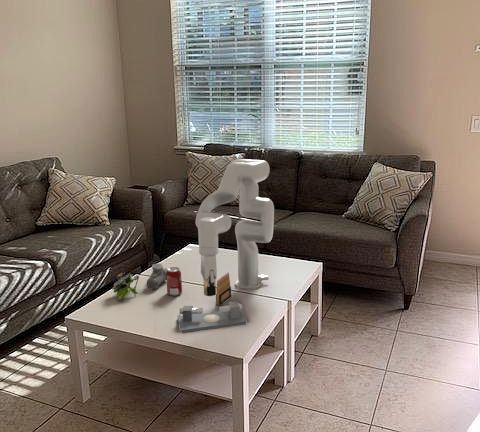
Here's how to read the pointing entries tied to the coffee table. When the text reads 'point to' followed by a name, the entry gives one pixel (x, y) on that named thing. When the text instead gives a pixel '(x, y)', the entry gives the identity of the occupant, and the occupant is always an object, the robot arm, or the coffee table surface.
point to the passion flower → (124, 285)
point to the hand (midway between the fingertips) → (210, 292)
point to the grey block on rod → (189, 312)
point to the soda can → (174, 281)
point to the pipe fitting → (157, 276)
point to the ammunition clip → (223, 290)
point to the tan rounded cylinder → (207, 285)
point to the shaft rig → (214, 319)
